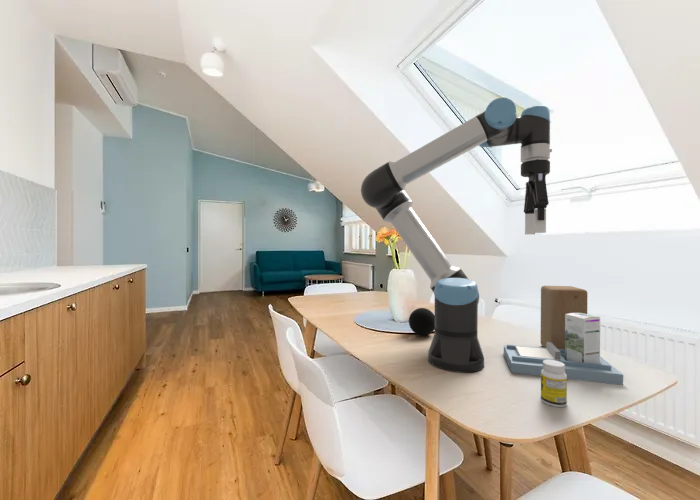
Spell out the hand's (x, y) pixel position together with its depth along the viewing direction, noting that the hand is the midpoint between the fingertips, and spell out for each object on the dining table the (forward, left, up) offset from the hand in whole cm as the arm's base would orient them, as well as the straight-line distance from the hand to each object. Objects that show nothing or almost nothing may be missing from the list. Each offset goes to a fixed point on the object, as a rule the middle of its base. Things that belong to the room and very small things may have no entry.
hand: (534, 233), depth 96 cm
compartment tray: (+4, -7, -37) cm, 38 cm away
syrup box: (+10, -7, -37) cm, 39 cm away
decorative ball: (-34, +14, -37) cm, 52 cm away
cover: (-1, -7, -34) cm, 35 cm away
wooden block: (+10, +10, -37) cm, 40 cm away
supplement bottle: (-2, -30, -37) cm, 48 cm away
